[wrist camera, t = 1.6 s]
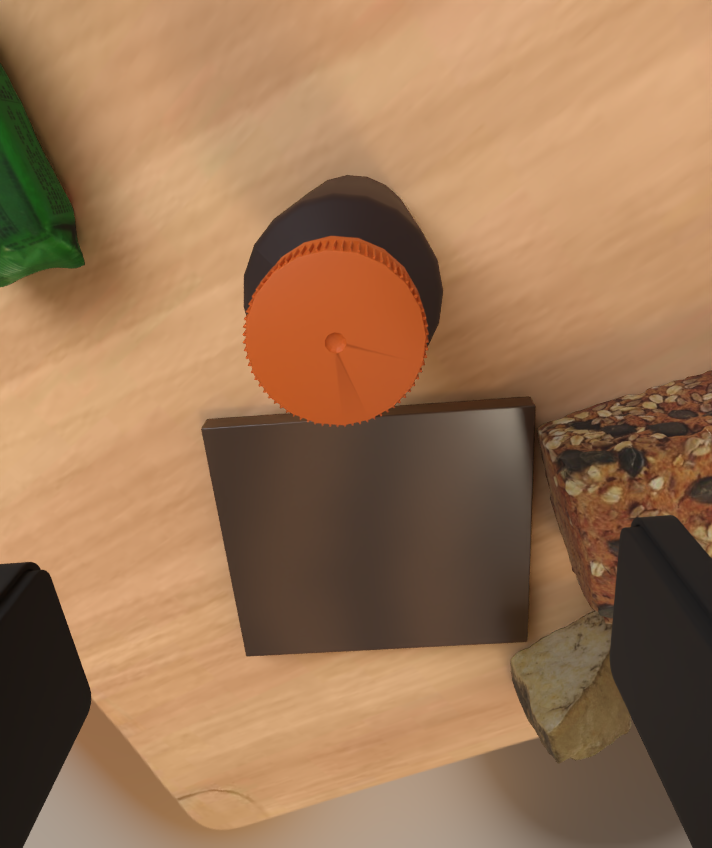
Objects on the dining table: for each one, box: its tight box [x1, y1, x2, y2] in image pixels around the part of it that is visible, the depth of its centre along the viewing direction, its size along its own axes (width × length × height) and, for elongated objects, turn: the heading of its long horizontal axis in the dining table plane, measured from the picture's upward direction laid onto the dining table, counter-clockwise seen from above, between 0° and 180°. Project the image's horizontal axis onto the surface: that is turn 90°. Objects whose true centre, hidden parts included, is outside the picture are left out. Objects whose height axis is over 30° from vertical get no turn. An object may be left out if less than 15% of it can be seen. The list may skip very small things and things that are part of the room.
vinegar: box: [243, 175, 443, 427], centre depth 26 cm, size 7×7×20 cm
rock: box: [511, 611, 631, 763], centre depth 43 cm, size 11×9×10 cm
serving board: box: [201, 397, 535, 656], centre depth 42 cm, size 20×18×2 cm
